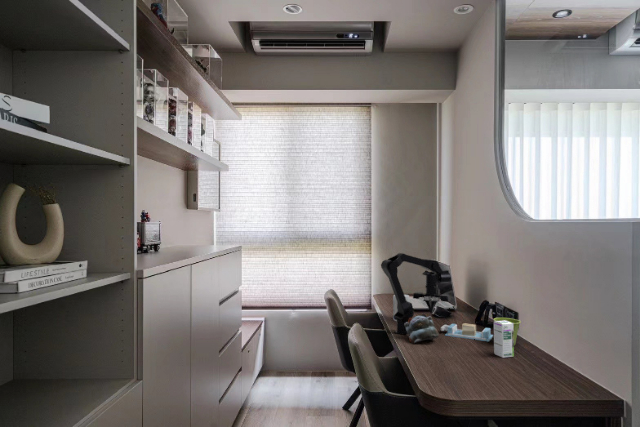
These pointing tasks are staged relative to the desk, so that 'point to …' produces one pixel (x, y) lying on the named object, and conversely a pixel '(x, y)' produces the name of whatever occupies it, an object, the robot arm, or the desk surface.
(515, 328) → the plant pot
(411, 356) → the desk surface
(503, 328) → the syrup box
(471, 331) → the beech block
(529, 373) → the desk surface
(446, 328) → the sliding jaw
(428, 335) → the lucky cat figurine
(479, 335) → the vise base
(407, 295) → the supplement tub
